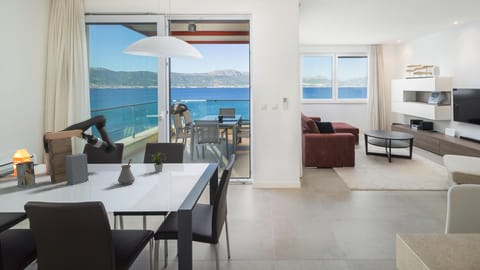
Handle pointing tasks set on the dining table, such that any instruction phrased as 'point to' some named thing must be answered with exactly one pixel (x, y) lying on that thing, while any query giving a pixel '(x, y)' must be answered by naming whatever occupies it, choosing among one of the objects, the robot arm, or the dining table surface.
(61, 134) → the block
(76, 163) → the pedestal
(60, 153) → the stand
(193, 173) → the dining table surface
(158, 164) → the house plant
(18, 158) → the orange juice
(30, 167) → the coffee box
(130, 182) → the coffee pot
